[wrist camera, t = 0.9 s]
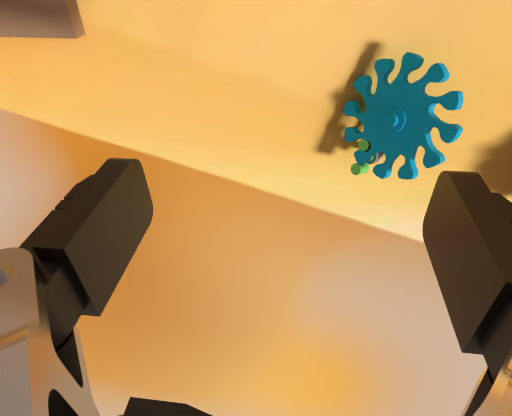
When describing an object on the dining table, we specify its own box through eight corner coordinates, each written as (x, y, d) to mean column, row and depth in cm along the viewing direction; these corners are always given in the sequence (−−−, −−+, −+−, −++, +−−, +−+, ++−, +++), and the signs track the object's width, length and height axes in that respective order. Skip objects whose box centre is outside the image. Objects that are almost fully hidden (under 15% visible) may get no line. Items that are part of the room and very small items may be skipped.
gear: (392, 23, 26) (490, 116, 23) (428, 31, 30) (518, 112, 27) (314, 130, 34) (378, 213, 31) (350, 126, 38) (411, 199, 34)
